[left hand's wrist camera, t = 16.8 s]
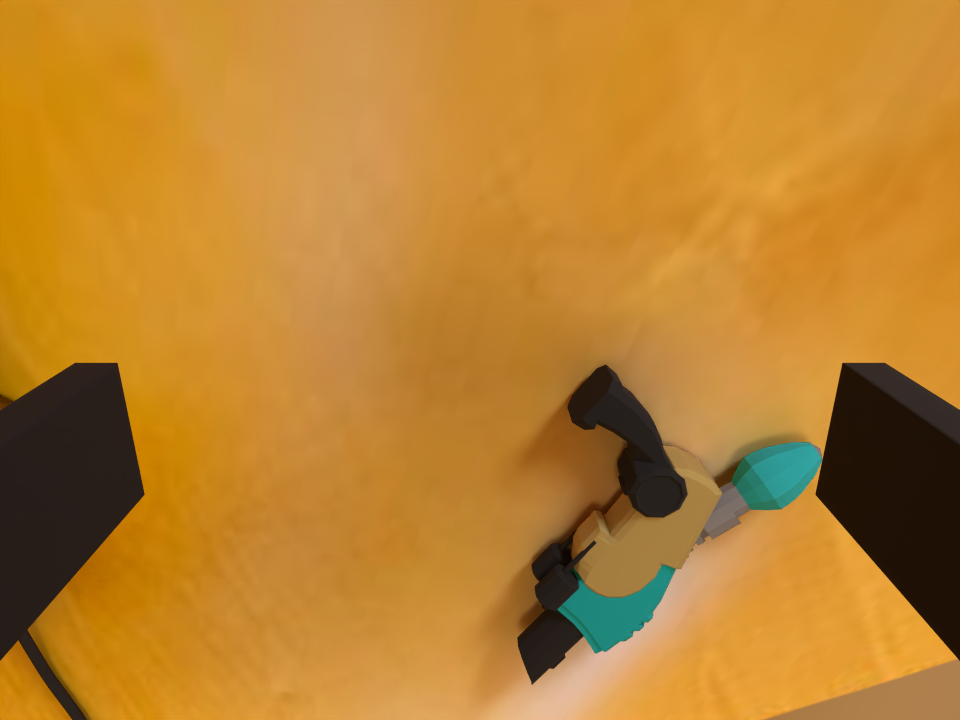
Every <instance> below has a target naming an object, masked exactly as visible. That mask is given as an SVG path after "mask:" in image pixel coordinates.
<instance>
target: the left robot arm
mask: <svg viewBox="0 0 960 720" xmlns="http://www.w3.org/2000/svg"><path fill="white" fill-rule="evenodd" d="M144 495H145V494H144V490H143V485H142V480H141V475H140V470H139V465H138V460H137V456H136V451H135V446H134V441H133V436H132V431H131V426H130V422H129V417H128V412H127V407H126V402H125V397H124V392H123V388H122V383H121V378H120V373H119V368H118V363H74V364H73V365H71V366H70V367H68V368H66V369H65V370H63V371H62V372H60V373H58V374H57V375H55V376H54V377H52V378H50V379H49V380H47V381H46V382H44V383H42V384H41V385H39V386H38V387H36V388H35V389H33V390H31V391H30V392H28V393H27V394H25V395H23V396H22V397H20V398H19V399H17V400H15V401H14V402H13V401H11V400H9V399H8V398H6V397H3V396H1V395H0V660H1V659H2V658H3V657H4V656H5V655H6V653H7V652H8V651H9V650H10V649H11V648H12V647H13V645H14V644H15V643H16V642H17V641H18V640H19V642H20V644H21V645H22V647H23V649H24V650H25V652H26V654H27V655H28V657H29V658H30V660H31V662H32V663H33V665H34V667H35V668H36V670H37V671H38V673H39V674H40V676H41V677H42V679H43V680H44V682H45V683H46V685H47V686H48V688H49V689H50V690H51V692H52V693H53V694H54V696H55V697H56V698H57V700H58V701H59V702H60V704H61V705H62V706H63V708H64V709H65V710H66V712H67V713H68V714H69V716H70V717H71V718H72V720H87V719H86V717H85V716H84V714H83V713H82V712H81V710H80V709H79V707H78V706H77V705H76V703H75V702H74V701H73V699H72V698H71V697H70V695H69V694H68V693H67V691H66V690H65V688H64V687H63V686H62V684H61V683H60V682H59V680H58V679H57V677H56V676H55V674H54V673H53V671H52V670H51V668H50V667H49V665H48V664H47V662H46V660H45V659H44V657H43V655H42V654H41V652H40V651H39V649H38V647H37V645H36V644H35V642H34V640H33V639H32V637H31V635H30V633H29V632H28V630H27V629H28V628H29V627H30V626H31V625H32V624H33V622H34V621H35V620H36V619H37V618H38V617H39V615H40V614H41V613H42V612H43V611H44V610H45V609H46V607H47V606H48V605H49V604H50V603H51V602H52V601H53V599H54V598H55V597H56V596H57V595H58V594H59V592H60V591H61V590H62V589H63V588H64V587H65V586H66V584H67V583H68V582H69V581H70V580H71V579H72V578H73V576H74V575H75V574H76V573H77V572H78V571H79V569H80V568H81V567H82V566H83V565H84V564H85V563H86V561H87V560H88V559H89V558H90V557H91V556H92V554H93V553H94V552H95V551H96V550H97V549H98V548H99V546H100V545H101V544H102V543H103V542H104V541H105V540H106V538H107V537H108V536H109V535H110V534H111V533H112V531H113V530H114V529H115V528H116V527H117V526H118V525H119V523H120V522H121V521H122V520H123V519H124V518H125V517H126V515H127V514H128V513H129V512H130V511H131V510H132V508H133V507H134V506H135V505H136V504H137V503H138V502H139V500H140V499H141V498H142V497H143V496H144ZM815 495H816V496H817V497H818V498H819V499H820V500H821V502H822V503H823V504H824V505H825V506H826V507H827V508H828V510H829V511H830V512H831V513H832V514H833V515H834V517H835V518H836V519H837V520H838V521H839V522H840V523H841V525H842V526H843V527H844V528H845V529H846V530H847V531H848V533H849V534H850V535H851V536H852V537H853V538H854V540H855V541H856V542H857V543H858V544H859V545H860V546H861V548H862V549H863V550H864V551H865V552H866V553H867V554H868V556H869V557H870V558H871V559H872V560H873V561H874V563H875V564H876V565H877V566H878V567H879V568H880V569H881V571H882V572H883V573H884V574H885V575H886V576H887V578H888V579H889V580H890V581H891V582H892V583H893V584H894V586H895V587H896V588H897V589H898V590H899V591H900V592H901V594H902V595H903V596H904V597H905V598H906V599H907V601H908V602H909V603H910V604H911V605H912V606H913V607H914V609H915V610H916V611H917V612H918V613H919V614H920V615H921V617H922V618H923V619H924V620H925V621H926V622H927V624H928V625H929V626H930V627H931V628H932V629H933V630H934V632H935V633H936V634H937V635H938V636H939V637H940V639H941V640H942V641H943V642H944V643H945V644H946V645H947V647H948V648H949V649H950V650H951V651H952V652H953V653H954V655H955V656H956V657H957V658H958V659H959V660H960V410H959V409H957V408H956V407H954V406H953V405H951V404H949V403H948V402H946V401H945V400H943V399H941V398H940V397H938V396H937V395H935V394H933V393H932V392H930V391H929V390H927V389H925V388H924V387H922V386H921V385H919V384H918V383H916V382H914V381H913V380H911V379H910V378H908V377H906V376H905V375H903V374H902V373H900V372H898V371H897V370H895V369H894V368H892V367H890V366H889V365H887V364H886V363H842V368H841V373H840V378H839V383H838V388H837V392H836V397H835V402H834V407H833V412H832V417H831V422H830V426H829V431H828V436H827V441H826V446H825V451H824V456H823V460H822V465H821V470H820V475H819V480H818V485H817V489H816V494H815Z"/></svg>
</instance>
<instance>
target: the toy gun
mask: <svg viewBox="0 0 960 720" xmlns="http://www.w3.org/2000/svg"><path fill="white" fill-rule="evenodd" d="M567 407H568V410H569V414H570V417H571V420H572V423H574V424H576V425H577V426H579V427H581V428H582V429H584V430H589V429H595V426H596V424H598V425H600V426H602V427H604V428H606V429H608V430H610V431H612V432H614V433H615V434H616V435H618V436H619V437H621V438H622V439H624V440H625V441H627V444H628V448H626V449H624V451H623V453H622V455H621V457H620V459H619V461H618V463H617V464H618V469H619V473H620V476H618V478H619V482H620V486H621V488H622V491H623V493H622V495H621V496H620V497H619V498H618V499H617V501H616V502H615V503H614V504H613V506H612V507H611V508H610V509H609V510H608V512H607V513H606V514H605V515H602V511H597V510H594V511H593V512H592V513H591V515H590V516H589V517H588V518H587V519H586V520H585V521H584V522H583V523H582V524H581V525H580V526H579V527H578V528H577V529H576V530H575V531H574V533H573V534H572V535H571V536H570V537H569V538H568V539H567V540H566V541H565V542H564V543H563V544H562V545H560V544H558V543H553V544H551V545H550V546H549V547H548V548H547V549H546V550H545V551H544V552H543V553H542V554H541V555H540V556H539V557H538V559H537V560H536V561H535V562H534V563H533V564H532V570H533V574H534V575H535V577H536V579H537V580H538V581H539V583H538V584H537V585H536V586H535V593H536V597H537V598H538V600H539V602H540V603H541V604H542V607H543V608H544V609H546V610H545V611H544V612H543V613H542V614H541V615H540V616H539V617H538V618H537V619H536V620H535V621H534V622H533V623H532V624H531V625H530V626H529V627H528V628H527V629H526V630H525V631H524V632H523V633H522V634H521V635H520V636H519V637H518V647H519V650H520V654H521V657H522V660H523V662H524V665H525V668H526V670H527V673H528V675H529V677H530V680H531V683H532V684H533V683H534V682H536V681H537V680H538V679H539V678H540V677H541V676H542V675H543V674H544V673H545V672H546V671H547V670H548V669H549V668H550V669H554V668H555V667H556V666H557V665H558V664H559V663H560V662H561V661H562V660H563V659H564V658H565V653H566V652H567V651H568V650H569V649H570V648H572V647H573V646H574V645H575V644H576V643H577V642H578V641H579V640H580V639H581V638H582V637H583V636H584V637H585V638H586V640H587V641H588V643H589V644H590V646H591V648H592V649H593V651H594V652H595V653H598V652H600V651H602V650H603V651H604V652H606V651H608V650H609V649H610V648H612V647H613V646H615V645H616V644H617V643H619V642H620V641H626V640H628V639H629V638H631V637H632V636H633V631H640V630H641V629H642V628H643V627H644V622H649V621H650V620H651V619H652V618H653V611H654V610H655V608H656V607H657V606H658V604H659V603H660V601H661V600H662V597H663V595H664V593H665V591H666V589H667V587H668V585H669V583H670V580H671V578H672V576H673V574H674V572H675V570H676V569H681V568H682V566H683V564H684V562H685V561H686V559H687V558H688V557H689V556H688V555H689V553H690V552H691V551H693V546H694V544H695V543H697V544H698V545H700V544H702V543H703V542H705V539H704V538H706V537H707V536H710V537H711V538H712V539H714V538H715V537H717V536H719V535H721V534H722V533H724V532H726V531H727V530H729V529H731V528H733V527H734V526H736V525H738V524H740V521H739V520H738V518H737V517H739V516H741V515H742V514H744V513H746V512H748V511H749V510H776V509H782V508H784V507H785V506H787V505H788V504H790V503H791V502H792V501H793V500H795V499H796V498H797V497H798V496H799V495H800V494H801V493H802V492H803V490H804V489H805V488H806V486H807V485H808V484H809V483H810V481H811V480H812V479H813V477H814V476H815V475H816V473H817V470H818V468H819V466H820V464H821V462H822V456H821V451H820V448H818V447H817V446H815V445H813V444H811V443H809V442H791V443H786V444H781V445H775V446H770V447H766V448H763V449H760V450H757V451H755V452H753V453H751V454H749V455H747V456H745V457H744V458H743V459H742V461H741V462H740V464H739V466H738V467H737V469H736V471H735V473H734V476H733V478H732V480H731V481H730V482H729V483H727V484H725V485H724V486H722V487H720V488H719V487H718V486H717V484H716V483H715V481H714V480H713V478H712V477H711V475H710V474H709V472H708V471H707V469H706V468H705V467H704V466H703V465H702V463H701V462H700V461H699V460H698V459H697V458H695V457H694V456H692V455H691V454H689V453H688V452H686V451H684V450H681V449H679V448H677V447H673V446H665V445H663V444H662V440H661V437H660V435H659V433H658V430H657V428H656V426H655V423H654V421H653V420H652V418H651V416H650V415H649V413H648V412H647V410H646V409H645V408H644V407H643V406H642V405H641V403H640V402H639V401H638V400H637V399H636V397H635V396H634V395H633V394H632V393H631V392H630V391H629V390H627V389H626V388H625V387H623V386H622V383H621V382H620V380H619V378H618V376H617V374H616V373H615V372H614V371H613V370H611V369H610V368H609V367H608V366H607V365H604V366H602V367H599V368H597V369H596V370H595V371H594V372H593V373H592V374H591V376H590V377H589V378H588V379H587V380H586V381H585V382H584V383H583V384H582V385H581V386H580V388H579V389H578V390H577V391H576V392H575V393H574V394H573V396H572V398H571V400H570V402H569V404H568V406H567ZM572 541H573V545H572V551H571V553H570V552H569V551H568V550H567V549H566V547H567V546H568V545H569V544H570V543H571V542H572Z"/></svg>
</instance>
